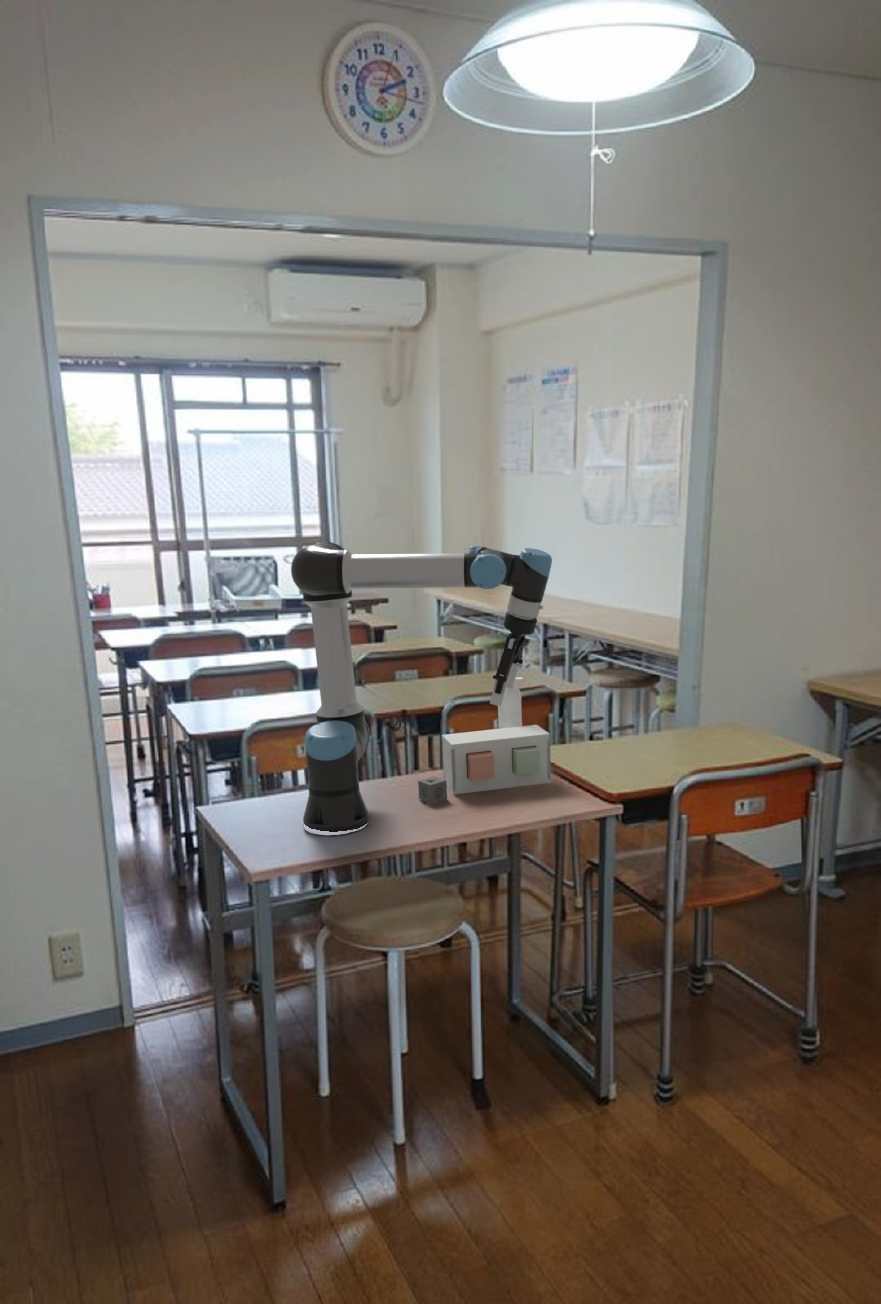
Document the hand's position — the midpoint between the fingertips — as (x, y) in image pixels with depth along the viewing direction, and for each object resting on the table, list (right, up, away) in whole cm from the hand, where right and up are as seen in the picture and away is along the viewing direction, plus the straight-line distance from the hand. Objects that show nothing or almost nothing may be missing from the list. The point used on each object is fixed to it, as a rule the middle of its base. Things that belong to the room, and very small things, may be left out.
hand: (501, 695), depth 222 cm
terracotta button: (-5, -21, +9) cm, 23 cm away
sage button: (+7, -20, +12) cm, 24 cm away
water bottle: (+6, -21, +30) cm, 37 cm away
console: (0, -23, +15) cm, 28 cm away
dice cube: (-17, -26, +4) cm, 32 cm away
